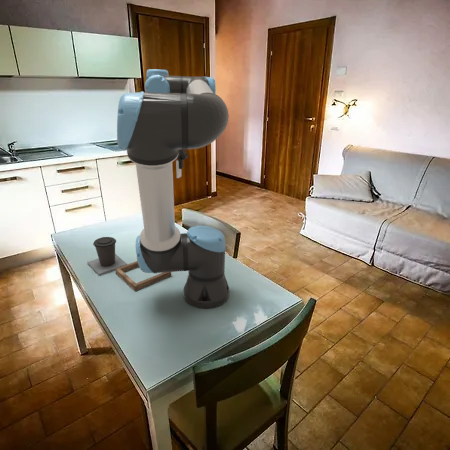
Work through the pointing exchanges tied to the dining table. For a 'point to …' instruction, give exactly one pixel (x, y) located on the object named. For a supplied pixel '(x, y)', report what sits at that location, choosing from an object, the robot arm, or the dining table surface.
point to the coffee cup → (105, 250)
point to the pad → (103, 270)
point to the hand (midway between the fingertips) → (162, 175)
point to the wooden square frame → (143, 283)
